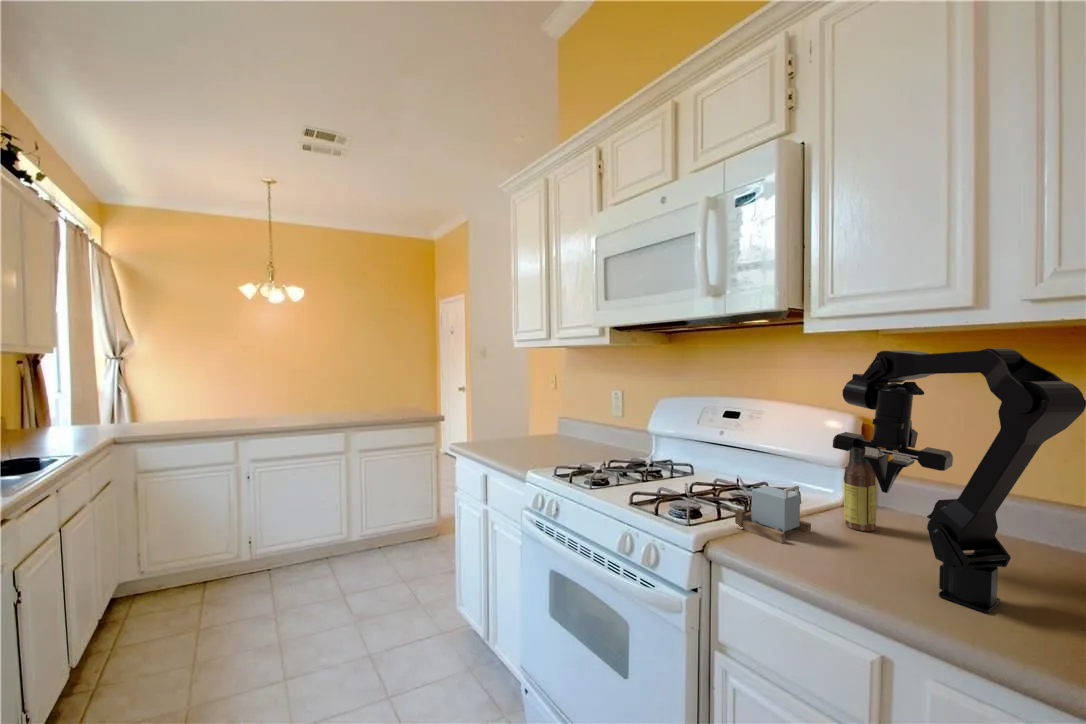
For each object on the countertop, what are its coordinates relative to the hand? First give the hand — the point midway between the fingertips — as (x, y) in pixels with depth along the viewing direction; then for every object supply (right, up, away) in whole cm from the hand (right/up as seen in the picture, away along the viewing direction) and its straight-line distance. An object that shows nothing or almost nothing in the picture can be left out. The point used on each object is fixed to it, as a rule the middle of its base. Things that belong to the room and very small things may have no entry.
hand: (885, 492), depth 99 cm
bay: (-16, -13, +16) cm, 25 cm away
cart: (-15, -13, +15) cm, 24 cm away
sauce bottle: (+5, -13, +17) cm, 22 cm away
